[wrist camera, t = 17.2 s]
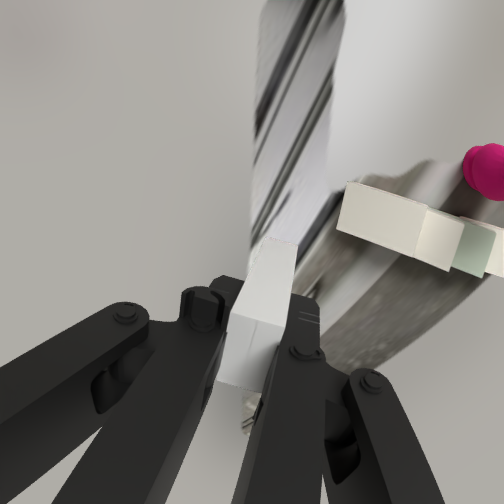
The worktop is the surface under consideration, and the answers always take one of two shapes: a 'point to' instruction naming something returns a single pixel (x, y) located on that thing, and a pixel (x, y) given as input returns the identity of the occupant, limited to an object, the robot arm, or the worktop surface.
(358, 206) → the tile
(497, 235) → the tile
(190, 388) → the robot arm
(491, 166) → the pepper mill
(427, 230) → the tile
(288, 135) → the worktop surface
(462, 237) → the tile
